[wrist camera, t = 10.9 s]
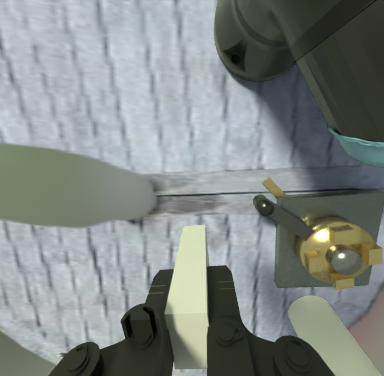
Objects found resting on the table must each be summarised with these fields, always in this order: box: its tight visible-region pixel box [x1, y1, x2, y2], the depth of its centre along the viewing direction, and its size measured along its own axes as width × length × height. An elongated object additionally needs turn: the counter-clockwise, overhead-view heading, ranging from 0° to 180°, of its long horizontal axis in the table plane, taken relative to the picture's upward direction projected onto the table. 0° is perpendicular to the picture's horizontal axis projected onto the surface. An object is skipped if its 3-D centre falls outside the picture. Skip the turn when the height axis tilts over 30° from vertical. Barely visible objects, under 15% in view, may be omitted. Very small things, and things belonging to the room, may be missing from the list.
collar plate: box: [263, 177, 384, 288], centre depth 37 cm, size 24×21×2 cm
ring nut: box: [253, 195, 382, 289], centre depth 33 cm, size 24×12×5 cm, turn 57°
